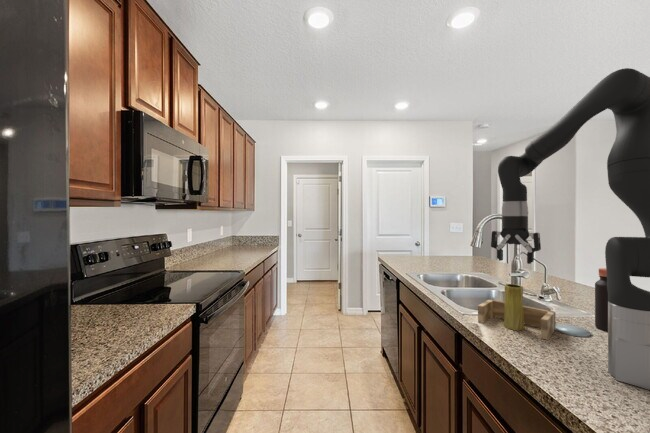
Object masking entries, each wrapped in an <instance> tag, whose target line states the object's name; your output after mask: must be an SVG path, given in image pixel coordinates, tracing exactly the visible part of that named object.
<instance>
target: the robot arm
mask: <svg viewBox="0 0 650 433" xmlns="http://www.w3.org/2000/svg"><path fill="white" fill-rule="evenodd" d="M606 110H610V111H612V114H613V118H614V121H615V128H616V136H615V140H614V141H613V144H612V146H611V148H610V151H609V154H608V157H607V161H606V169H607V181H608V187H609V188H610V190H611V191H612V193H614V195H615V196H616V197H617V198H618V199H619V200H620V201H621V202H622V203H623V204H625V205H626V206H627V207H628V208H629V209H630V211H632V213H633V214H634V215H635V216H636V217H637V219H638V221H639V222H640V224H641V226H642V229H643V232H644V235H645V236H643V237H642V236H639V237H638V236H613V237H610V238H609V239H608V240H607V242H606V245H605V250H604V251H605V252H604V255H605V256H604V257H605V267H606V268H605V269H606V270H607V290H608V332H607V359H608V360H607V368H608V369H607V371H608V373H609V374H610V375H611V376H612V377H613V378H615V380H616V381H619V382H622V383H625V384H629V385H632V386H636V387H639V388H642V389H645V390H649V391H650V291H649V290H646V289H643V288H641V287H638V286H636V285H635V284H633V283H632V281H631V277H635V278H650V76H648V75H647V74H644V73H643V72H641V71H639V70H637V69H634V68H630V67H629V68H627V67H626V68H621V69H617V70H614V71H612V72H611V73H610V74H608V75H606V76H605V77H604V78H602V79H601V80H600V81H599V82H597V84H596V85H595V86H594V87H592V88H591V89H590V90H589V91H588V92H587V93H586V94H585V95H584V96H583V97H582V98H581V99H580V100H578V101H577V103H576V104H574V106H573V107H571V108H570V109H569V110H568V112H566V113H565V114H564V115H563V116H562V117H561V118H560V119H559V120H558V121H556V122H555V123H554V124H553V125H551V126H550V127H549V128H547V130H545V131H544V132H542V133H541V134H540V135H538V136H537V137H536V138H534V139H532V140H531V141H530V142H529V143H528V144H526V146H525V148H524V152H523V153H522V154H521V155H519V156H515V155H507V156H504V157H502V158H501V160H500V161H499V163H498V166H497V173H498V178H499V181H500V182H499V183H500V185H501V188H502V206H501V231H498V230H493V231H491V237H490V238H491V240H490V247H491V248H492V249H495V250H496V259H498V261H501V262H502V261H503V260H504V250H503V248H505V246H507V245H517V246H519V245H521V246H522V247H524V249H525V250H526V251H527V252H526V264H527V265H531V264H532V263H533V262H534V258H535V257H534V256H535V255H534V254H535V252H538V251H541V249H542V246H541V235H540V234H541V233H539V232H529V207H528V188H527V186H526V185H525V184H524V183H523V182H522V181H521V178H522V177H526V176H528V175H529V174H531V173H532V172H533V171H534V170H536V169H537V167H538V166H540V165H541V164H542V162H544V161H545V160H546V159H548V158H549V157H551V156H552V155H554V154H556V153H557V152H558V151H560V150H562V149H563V148H564V147H566V146H567V145H568V144H569V143H570V142H571V140H572V139H573V138H574V137H575V135H576V134H577V133H578V132H579V130H580V129H581V128H582V127H583V126H584V125H585V124H586V123H587V122H588V121H589V120H592V118H594V117H596V116H597V115H598V114H600V113H602V112H604V111H606ZM500 236H501V237H502V240H501V241H500V242H499V244H498V238H500ZM529 238H531V239H532V240H533V246H532V245H531V243H530V242H529V241H528V240H527V239H529Z"/></svg>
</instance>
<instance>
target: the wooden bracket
mask: <svg viewBox="0 0 650 433" xmlns="http://www.w3.org/2000/svg"><path fill="white" fill-rule="evenodd" d="M523 311H524V325H528V326H531V327H536V328H540V339H543V340H549V338H550V337H551V336H552V334H554V332H555V331H556V329H555V325H556V311H552V310H547V309H543V308H542V309H541V308H538V307H532V306H528V305H523ZM491 318H496V319H497V318H498V319H502V320H504V301H502V300H497V299H491V298H490V299H487V300H485V301H484V302H482V303H480V304H478V305H477V322H478V323H481V324H484V323H485V322H487V321H489V320H490V319H491Z"/></svg>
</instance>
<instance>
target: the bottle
mask: <svg viewBox="0 0 650 433" xmlns="http://www.w3.org/2000/svg"><path fill="white" fill-rule="evenodd" d="M598 277H599V279H598V280H597V281H595V283H594V326H595V328H597V329H598V330H600V331H603V332H607V333H608V290H607V270H606V268H602V267H601V268H598Z"/></svg>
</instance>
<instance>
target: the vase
mask: <svg viewBox="0 0 650 433" xmlns="http://www.w3.org/2000/svg"><path fill="white" fill-rule="evenodd" d="M503 302H504V319H503V324H502V325H503V327H504V328H506V329H509V330H513V331H524V330H525V326H524V325H525V324H524V311H523V306H524V287H523V285H520V284H514V283H505V284H504V301H503Z"/></svg>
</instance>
